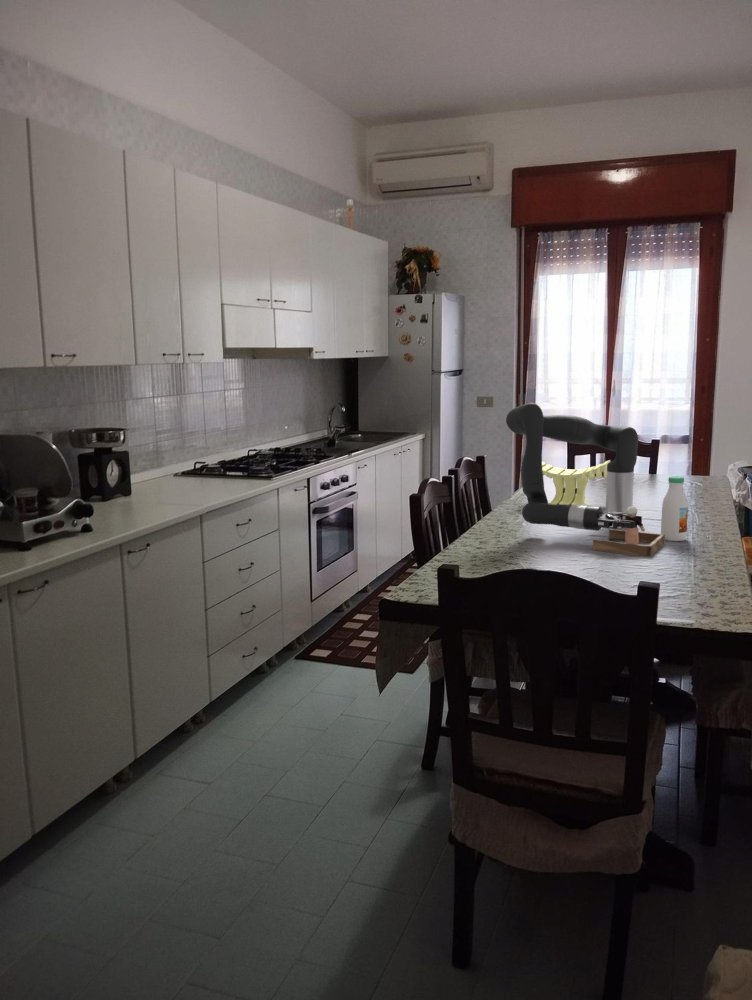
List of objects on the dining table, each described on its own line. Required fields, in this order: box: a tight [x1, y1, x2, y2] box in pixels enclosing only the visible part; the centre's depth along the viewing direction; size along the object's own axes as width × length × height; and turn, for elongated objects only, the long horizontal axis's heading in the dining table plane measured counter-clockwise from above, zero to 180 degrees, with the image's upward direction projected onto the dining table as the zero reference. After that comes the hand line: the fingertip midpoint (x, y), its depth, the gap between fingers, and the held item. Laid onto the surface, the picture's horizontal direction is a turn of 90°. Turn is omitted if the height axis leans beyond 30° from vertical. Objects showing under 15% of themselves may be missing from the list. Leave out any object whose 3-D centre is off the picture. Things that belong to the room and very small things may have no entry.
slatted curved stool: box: [542, 459, 611, 506], centre depth 313 cm, size 30×16×18 cm, turn 66°
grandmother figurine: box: [617, 505, 646, 545], centre depth 243 cm, size 8×4×13 cm, turn 84°
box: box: [592, 528, 666, 557], centre depth 244 cm, size 18×17×3 cm
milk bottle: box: [660, 475, 689, 542], centre depth 252 cm, size 8×8×20 cm
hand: (638, 522), depth 242 cm, fingers open, 8 cm apart
